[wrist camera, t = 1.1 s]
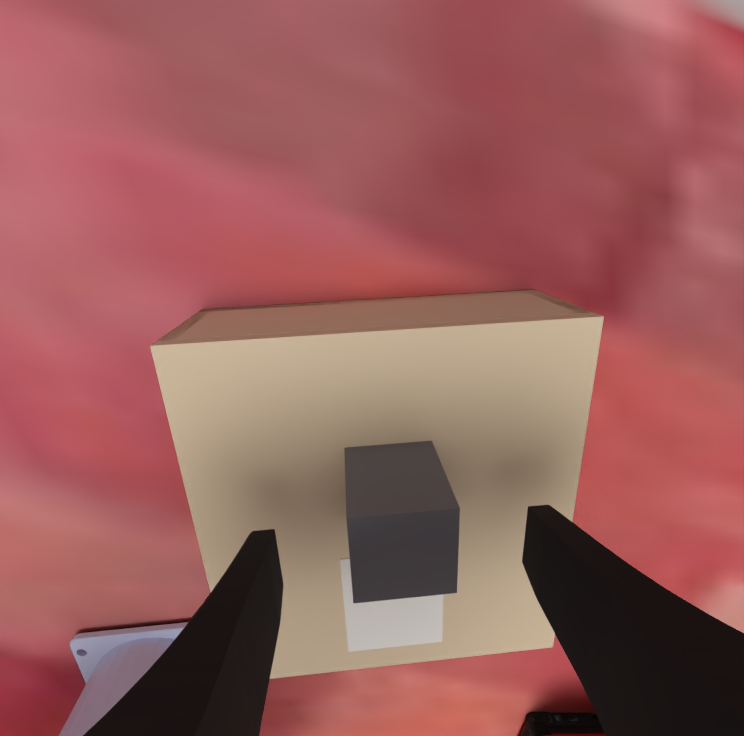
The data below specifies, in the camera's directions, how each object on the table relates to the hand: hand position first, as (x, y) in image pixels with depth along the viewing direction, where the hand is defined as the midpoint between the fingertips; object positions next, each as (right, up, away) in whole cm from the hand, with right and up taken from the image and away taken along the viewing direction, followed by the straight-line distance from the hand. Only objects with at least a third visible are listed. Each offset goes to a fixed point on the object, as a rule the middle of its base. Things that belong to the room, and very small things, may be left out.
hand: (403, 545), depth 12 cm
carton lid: (0, -1, +4) cm, 4 cm away
